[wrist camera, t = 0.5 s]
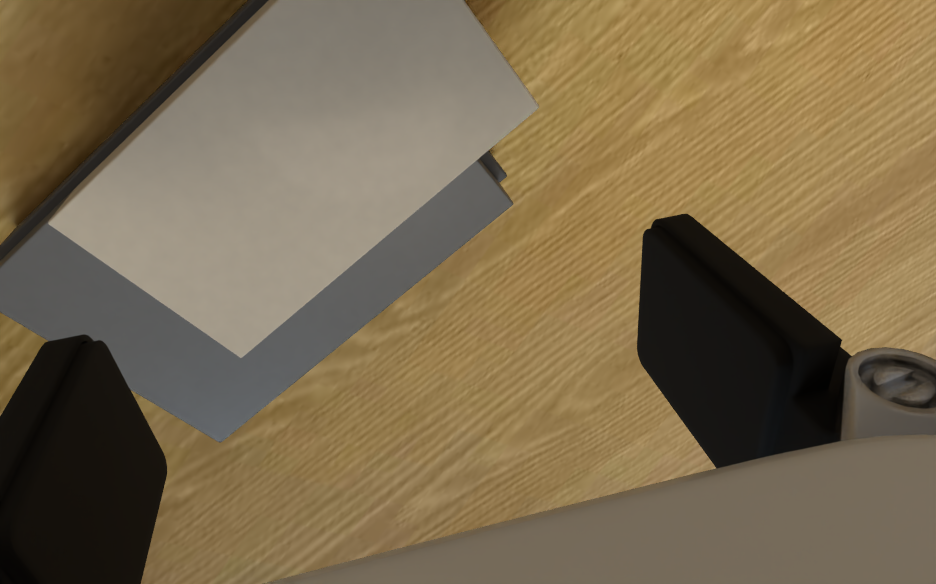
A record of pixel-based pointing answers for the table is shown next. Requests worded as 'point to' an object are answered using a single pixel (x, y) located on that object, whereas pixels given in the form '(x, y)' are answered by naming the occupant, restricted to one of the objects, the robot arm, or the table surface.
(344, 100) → the beige flat block
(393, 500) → the table surface
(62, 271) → the grey books
